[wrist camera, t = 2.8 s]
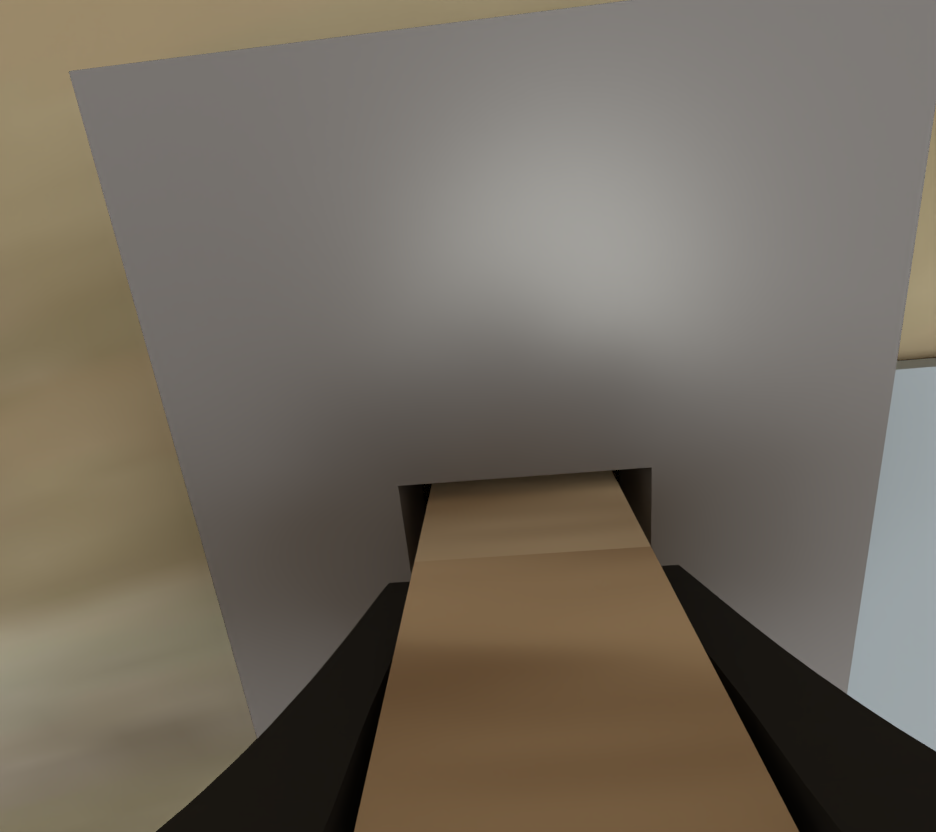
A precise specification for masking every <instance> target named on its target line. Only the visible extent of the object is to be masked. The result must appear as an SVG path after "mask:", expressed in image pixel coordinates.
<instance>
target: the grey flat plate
mask: <svg viewBox="0 0 936 832" xmlns="http://www.w3.org/2000/svg"><path fill="white" fill-rule="evenodd" d="M69 74H70V78H71V81H72V85H73V88H74V92H75V95H76V99H77V102H78V106H79V109H80V113H81V116H82V120H83V124H84V127H85V131H86V134H87V138H88V141H89V145H90V148H91V152H92V155H93V159H94V163H95V166H96V170H97V173H98V177H99V180H100V184H101V187H102V191H103V194H104V198H105V201H106V205H107V209H108V212H109V216H110V219H111V223H112V226H113V230H114V233H115V237H116V240H117V244H118V248H119V251H120V255H121V258H122V262H123V265H124V269H125V272H126V276H127V279H128V283H129V286H130V290H131V294H132V297H133V301H134V304H135V308H136V311H137V315H138V318H139V322H140V325H141V329H142V333H143V336H144V340H145V343H146V347H147V350H148V354H149V357H150V361H151V364H152V368H153V371H154V375H155V379H156V382H157V386H158V389H159V393H160V396H161V400H162V403H163V407H164V410H165V414H166V418H167V421H168V425H169V428H170V432H171V435H172V439H173V442H174V446H175V449H176V453H177V456H178V460H179V464H180V467H181V471H182V474H183V478H184V481H185V485H186V488H187V492H188V495H189V499H190V503H191V506H192V510H193V513H194V517H195V520H196V524H197V527H198V531H199V534H200V538H201V541H202V545H203V549H204V552H205V556H206V559H207V563H208V566H209V570H210V573H211V577H212V580H213V584H214V588H215V591H216V595H217V598H218V602H219V605H220V609H221V612H222V616H223V619H224V623H225V627H226V630H227V634H228V637H229V641H230V644H231V648H232V651H233V655H234V658H235V662H236V665H237V669H238V673H239V676H240V680H241V683H242V687H243V690H244V694H245V697H246V701H247V704H248V708H249V712H250V715H251V719H252V722H253V726H254V729H255V733H256V736H257V738H258V737H259V736H260V735H261V734H262V733H263V732H264V731H265V730H266V729H267V728H268V727H269V726H270V725H271V724H272V723H273V721H274V720H275V719H276V718H277V717H278V716H279V715H280V714H281V713H282V712H283V710H284V709H285V708H286V707H287V706H288V705H289V704H290V703H291V702H292V700H293V699H294V698H295V697H296V696H297V695H298V694H299V693H300V692H301V691H302V689H303V688H304V687H305V686H306V685H307V684H308V683H309V682H310V680H311V679H312V678H313V677H314V676H315V675H316V673H317V672H318V671H319V670H320V669H321V667H322V666H323V665H324V664H325V662H326V661H327V660H328V659H329V658H330V656H331V655H332V654H333V653H334V652H335V650H336V649H337V648H338V647H339V646H340V644H341V643H342V642H343V641H344V639H345V638H346V637H347V636H348V634H349V633H350V632H351V630H352V629H353V628H354V627H355V625H356V624H357V623H358V621H359V620H360V619H361V618H362V616H363V615H364V614H365V612H366V611H367V610H368V608H369V607H370V606H371V605H372V603H373V602H374V601H375V599H376V598H377V597H378V595H379V594H380V593H381V592H382V590H383V589H384V588H385V587H386V586H387V585H388V584H389V583H394V582H410V580H411V575H412V571H413V566H414V562H415V557H416V553H417V548H418V544H419V540H420V535H421V531H422V526H423V522H424V517H425V513H426V509H425V502H424V494H423V487H422V484H430V483H444V482H458V481H471V480H485V479H499V478H512V477H526V476H540V475H554V474H567V473H581V472H595V471H608V470H620V488H621V490H622V492H623V494H624V496H625V498H626V500H627V501H628V503H629V505H630V507H631V509H632V511H633V513H634V515H635V517H636V519H637V521H638V523H639V525H640V526H641V528H642V530H643V532H644V534H645V536H646V538H647V540H648V542H649V544H650V546H651V548H652V550H653V551H654V553H655V555H656V557H657V559H658V561H659V563H660V565H661V566H667V565H680V566H681V567H682V568H683V569H685V570H686V571H687V572H688V573H690V574H691V575H692V576H693V577H695V578H696V579H697V580H698V581H699V582H701V583H702V584H703V585H704V586H705V587H707V588H708V589H709V590H710V591H712V592H713V593H714V594H715V595H716V596H718V597H719V598H720V599H721V600H723V601H724V602H725V603H726V604H727V605H729V606H730V607H731V608H732V609H734V610H735V611H736V612H737V613H739V614H740V615H741V616H742V617H744V618H745V619H746V620H747V621H749V622H750V623H751V624H752V625H754V626H755V627H756V628H757V629H759V630H760V631H761V632H763V633H764V634H765V635H766V636H768V637H769V638H770V639H772V640H773V641H774V642H775V643H777V644H778V645H779V646H781V647H782V648H783V649H785V650H786V651H787V652H789V653H790V654H791V655H793V656H794V657H795V658H797V659H798V660H800V661H801V662H802V663H804V664H805V665H806V666H808V667H809V668H810V669H812V670H813V671H815V672H816V673H817V674H819V675H820V676H822V677H823V678H825V679H826V680H827V681H829V682H830V683H832V684H833V685H835V686H836V687H838V688H839V689H840V690H842V691H843V692H845V693H846V694H847V691H848V684H849V677H850V671H851V664H852V657H853V651H854V644H855V637H856V631H857V624H858V617H859V611H860V604H861V598H862V591H863V584H864V578H865V571H866V564H867V558H868V551H869V544H870V538H871V531H872V524H873V518H874V511H875V504H876V498H877V491H878V484H879V478H880V471H881V464H882V458H883V451H884V444H885V438H886V431H887V424H888V418H889V411H890V405H891V398H892V391H893V385H894V378H895V371H896V365H897V358H898V351H899V345H900V338H901V331H902V325H903V318H904V311H905V305H906V298H907V291H908V285H909V278H910V271H911V265H912V258H913V251H914V245H915V238H916V231H917V225H918V218H919V211H920V205H921V198H922V192H923V185H924V178H925V172H926V165H927V158H928V152H929V145H930V138H931V132H932V125H933V118H934V112H935V105H936V0H628V1H620V2H613V3H605V4H597V5H589V6H581V7H573V8H565V9H557V10H549V11H541V12H533V13H525V14H518V15H510V16H502V17H494V18H486V19H478V20H470V21H462V22H454V23H446V24H438V25H430V26H423V27H415V28H407V29H399V30H391V31H383V32H375V33H367V34H359V35H351V36H343V37H335V38H328V39H320V40H312V41H304V42H296V43H288V44H280V45H272V46H264V47H256V48H248V49H241V50H233V51H225V52H217V53H209V54H201V55H193V56H185V57H177V58H169V59H161V60H153V61H146V62H138V63H130V64H122V65H114V66H106V67H98V68H90V69H82V70H74V71H69Z"/></svg>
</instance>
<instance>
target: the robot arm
mask: <svg viewBox="0 0 936 832" xmlns="http://www.w3.org/2000/svg"><path fill="white" fill-rule="evenodd" d="M661 567H662V569H663V571H664V573H665V575H666V576H667V578H668V580H669V582H670V584H671V586H672V588H673V590H674V592H675V594H676V596H677V598H678V600H679V602H680V603H681V605H682V607H683V609H684V611H685V613H686V615H687V617H688V619H689V621H690V623H691V625H692V627H693V628H694V630H695V632H696V634H697V636H698V638H699V640H700V642H701V644H702V646H703V648H704V650H705V652H706V653H707V655H708V657H709V659H710V661H711V663H712V665H713V667H714V669H715V671H716V673H717V675H718V677H719V678H720V680H721V682H722V684H723V686H724V688H725V690H726V692H727V694H728V696H729V698H730V700H731V702H732V704H733V705H734V707H735V709H736V711H737V713H738V715H739V717H740V719H741V721H742V723H743V725H744V727H745V729H746V730H747V732H748V734H749V736H750V738H751V740H752V742H753V744H754V746H755V748H756V750H757V752H758V754H759V755H760V757H761V759H762V761H763V763H764V765H765V767H766V769H767V771H768V773H769V775H770V777H771V779H772V780H773V782H774V784H775V786H776V788H777V790H778V792H779V794H780V796H781V798H782V800H783V802H784V804H785V805H786V807H787V809H788V811H789V813H790V815H791V817H792V819H793V821H794V823H795V825H796V827H797V829H798V831H799V832H936V751H934V750H933V749H931V748H930V747H928V746H926V745H925V744H923V743H921V742H920V741H918V740H917V739H915V738H913V737H912V736H910V735H908V734H907V733H905V732H904V731H902V730H900V729H899V728H897V727H895V726H894V725H892V724H891V723H889V722H888V721H886V720H885V719H883V718H882V717H880V716H879V715H877V714H876V713H874V712H872V711H871V710H869V709H868V708H866V707H865V706H863V705H862V704H861V703H859V702H858V701H856V700H855V699H853V698H852V697H850V696H849V695H848V694H846V693H845V692H843V691H842V690H840V689H839V688H838V687H836V686H835V685H833V684H832V683H830V682H829V681H827V680H826V679H825V678H823V677H822V676H820V675H819V674H817V673H816V672H815V671H813V670H812V669H810V668H809V667H808V666H806V665H805V664H804V663H802V662H801V661H800V660H798V659H797V658H795V657H794V656H793V655H791V654H790V653H789V652H787V651H786V650H785V649H783V648H782V647H781V646H779V645H778V644H777V643H775V642H774V641H773V640H772V639H770V638H769V637H768V636H766V635H765V634H764V633H763V632H761V631H760V630H759V629H757V628H756V627H755V626H754V625H752V624H751V623H750V622H749V621H747V620H746V619H745V618H744V617H742V616H741V615H740V614H739V613H737V612H736V611H735V610H734V609H732V608H731V607H730V606H729V605H727V604H726V603H725V602H724V601H723V600H721V599H720V598H719V597H718V596H716V595H715V594H714V593H713V592H712V591H710V590H709V589H708V588H707V587H705V586H704V585H703V584H702V583H701V582H699V581H698V580H697V579H696V578H695V577H693V576H692V575H691V574H690V573H688V572H687V571H686V570H685V569H683V568H682V567H681V566H680V565H667V566H661ZM409 584H410V582H394V583H389V584H388V585H387V586H386V587H385V588H384V589H383V590H382V592H381V593H380V594H379V595H378V597H377V598H376V599H375V601H374V602H373V603H372V605H371V606H370V607H369V608H368V610H367V611H366V612H365V614H364V615H363V616H362V618H361V619H360V620H359V621H358V623H357V624H356V625H355V627H354V628H353V629H352V630H351V632H350V633H349V634H348V636H347V637H346V638H345V639H344V641H343V642H342V643H341V644H340V646H339V647H338V648H337V649H336V650H335V652H334V653H333V654H332V655H331V656H330V658H329V659H328V660H327V661H326V662H325V664H324V665H323V666H322V667H321V669H320V670H319V671H318V672H317V673H316V675H315V676H314V677H313V678H312V679H311V680H310V682H309V683H308V684H307V685H306V686H305V687H304V688H303V689H302V691H301V692H300V693H299V694H298V695H297V696H296V697H295V698H294V699H293V700H292V702H291V703H290V704H289V705H288V706H287V707H286V708H285V709H284V710H283V712H282V713H281V714H280V715H279V716H278V717H277V718H276V719H275V720H274V721H273V723H272V724H271V725H270V726H269V727H268V728H267V729H266V730H265V731H264V732H263V733H262V734H261V735H260V736H259V737H258V738H257V739H256V740H255V741H254V742H253V743H252V744H251V745H250V746H249V747H248V749H247V750H246V751H245V752H244V753H243V754H241V755H240V756H239V757H238V758H237V759H236V760H235V761H234V762H233V763H232V764H231V765H230V766H229V767H228V768H227V769H226V770H225V771H224V772H223V773H222V774H221V775H220V776H219V777H217V778H216V779H215V780H214V781H213V782H212V783H211V784H210V785H209V786H208V787H207V788H206V789H205V790H204V791H203V792H201V793H200V794H199V795H198V796H197V797H196V798H195V799H194V800H193V801H191V802H190V803H189V804H188V805H187V806H186V807H185V808H183V809H182V810H181V811H180V812H179V813H177V814H176V815H175V816H174V817H173V818H172V819H170V820H169V821H168V822H167V823H166V824H164V825H163V826H162V827H161V828H160V829H158V830H157V831H156V832H354V829H355V825H356V820H357V816H358V811H359V807H360V803H361V798H362V794H363V789H364V785H365V780H366V776H367V771H368V767H369V762H370V758H371V754H372V749H373V745H374V740H375V736H376V731H377V727H378V722H379V718H380V713H381V709H382V704H383V700H384V696H385V691H386V687H387V682H388V678H389V673H390V669H391V664H392V660H393V655H394V651H395V647H396V642H397V638H398V633H399V629H400V624H401V620H402V615H403V611H404V606H405V602H406V598H407V593H408V589H409Z"/></svg>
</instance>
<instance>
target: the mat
mask: <svg viewBox="0 0 936 832" xmlns="http://www.w3.org/2000/svg"><path fill="white" fill-rule="evenodd" d="M847 694H848V695H849V696H850V697H852V698H853V699H855V700H856V701H858V702H859V703H861V704H862V705H863V706H865V707H866V708H868V709H869V710H871V711H872V712H874V713H876V714H877V715H879V716H880V717H882V718H883V719H885V720H886V721H888V722H889V723H891V724H892V725H894V726H895V727H897V728H899V729H900V730H902V731H904V732H905V733H907V734H908V735H910V736H912V737H913V738H915V739H917V740H918V741H920V742H921V743H923V744H925V745H926V746H928V747H930V748H931V749H933V750H934V751H936V358H927V359H915V360H903V361H897V365H896V371H895V378H894V385H893V391H892V398H891V405H890V411H889V418H888V424H887V431H886V438H885V444H884V451H883V458H882V464H881V471H880V478H879V484H878V491H877V498H876V504H875V511H874V518H873V524H872V531H871V538H870V544H869V551H868V558H867V564H866V571H865V578H864V584H863V591H862V598H861V604H860V611H859V617H858V624H857V631H856V637H855V644H854V651H853V657H852V664H851V671H850V677H849V684H848V691H847Z"/></svg>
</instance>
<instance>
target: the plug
mask: <svg viewBox="0 0 936 832" xmlns="http://www.w3.org/2000/svg"><path fill="white" fill-rule="evenodd" d="M354 832H799V831H798V829H797V827H796V825H795V823H794V821H793V819H792V817H791V815H790V813H789V811H788V809H787V807H786V805H785V804H784V802H783V800H782V798H781V796H780V794H779V792H778V790H777V788H776V786H775V784H774V782H773V780H772V779H771V777H770V775H769V773H768V771H767V769H766V767H765V765H764V763H763V761H762V759H761V757H760V755H759V754H758V752H757V750H756V748H755V746H754V744H753V742H752V740H751V738H750V736H749V734H748V732H747V730H746V729H745V727H744V725H743V723H742V721H741V719H740V717H739V715H738V713H737V711H736V709H735V707H734V705H733V704H732V702H731V700H730V698H729V696H728V694H727V692H726V690H725V688H724V686H723V684H722V682H721V680H720V678H719V677H718V675H717V673H716V671H715V669H714V667H713V665H712V663H711V661H710V659H709V657H708V655H707V653H706V652H705V650H704V648H703V646H702V644H701V642H700V640H699V638H698V636H697V634H696V632H695V630H694V628H693V627H692V625H691V623H690V621H689V619H688V617H687V615H686V613H685V611H684V609H683V607H682V605H681V603H680V602H679V600H678V598H677V596H676V594H675V592H674V590H673V588H672V586H671V584H670V582H669V580H668V578H667V576H666V575H665V573H664V571H663V569H662V567H661V565H660V563H659V561H658V559H657V557H656V555H655V553H654V551H653V550H652V548H651V546H650V544H649V542H648V540H647V538H646V536H645V534H644V532H643V530H642V528H641V526H640V525H639V523H638V521H637V519H636V517H635V515H634V513H633V511H632V509H631V507H630V505H629V503H628V501H627V500H626V498H625V496H624V494H623V492H622V490H621V488H620V486H619V484H618V482H617V480H616V478H615V476H614V475H613V473H612V471H611V470H608V471H595V472H581V473H567V474H554V475H540V476H526V477H512V478H499V479H485V480H471V481H458V482H444V483H432V486H431V491H430V495H429V499H428V504H427V508H426V513H425V517H424V522H423V526H422V531H421V535H420V540H419V544H418V548H417V553H416V557H415V562H414V566H413V571H412V575H411V580H410V584H409V589H408V593H407V598H406V602H405V606H404V611H403V615H402V620H401V624H400V629H399V633H398V638H397V642H396V647H395V651H394V655H393V660H392V664H391V669H390V673H389V678H388V682H387V687H386V691H385V696H384V700H383V704H382V709H381V713H380V718H379V722H378V727H377V731H376V736H375V740H374V745H373V749H372V754H371V758H370V762H369V767H368V771H367V776H366V780H365V785H364V789H363V794H362V798H361V803H360V807H359V811H358V816H357V820H356V825H355V829H354Z"/></svg>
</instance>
